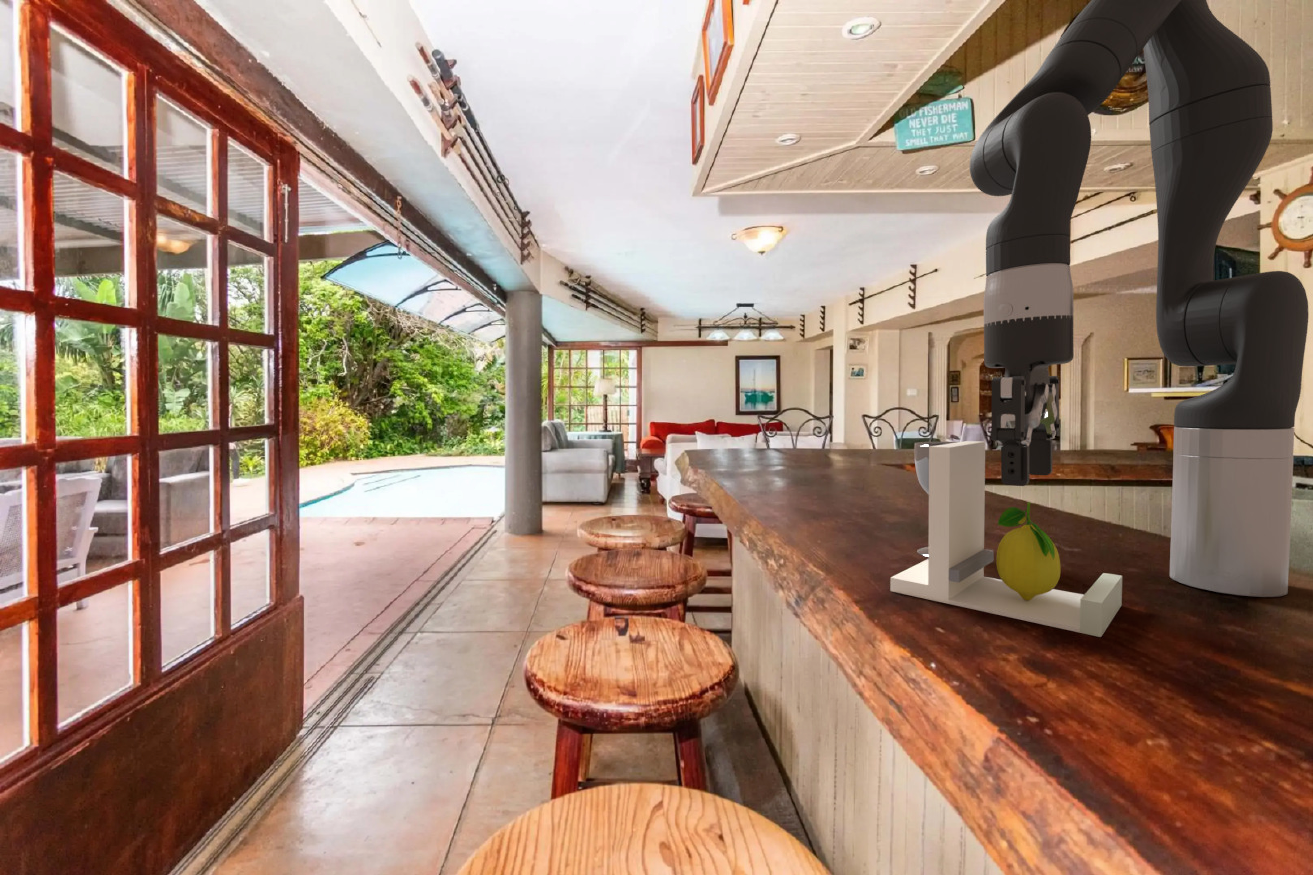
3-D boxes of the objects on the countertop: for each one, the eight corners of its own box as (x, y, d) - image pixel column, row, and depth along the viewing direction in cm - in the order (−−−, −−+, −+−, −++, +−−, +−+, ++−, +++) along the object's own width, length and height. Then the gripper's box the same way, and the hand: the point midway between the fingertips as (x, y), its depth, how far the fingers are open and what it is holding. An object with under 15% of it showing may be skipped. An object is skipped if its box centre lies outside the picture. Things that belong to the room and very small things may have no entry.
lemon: (996, 585, 63) (998, 495, 63) (1062, 595, 60) (1064, 499, 59) (986, 602, 58) (987, 503, 58) (1057, 614, 54) (1059, 509, 54)
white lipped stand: (929, 570, 71) (930, 440, 70) (1121, 605, 58) (1125, 445, 57) (890, 590, 63) (890, 445, 63) (1100, 637, 50) (1105, 453, 49)
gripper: (1053, 306, 50) (1054, 492, 51) (1088, 317, 60) (1088, 473, 61) (960, 318, 55) (962, 486, 56) (1006, 326, 65) (1007, 469, 66)
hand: (1028, 479), depth 59 cm, fingers open, 8 cm apart
